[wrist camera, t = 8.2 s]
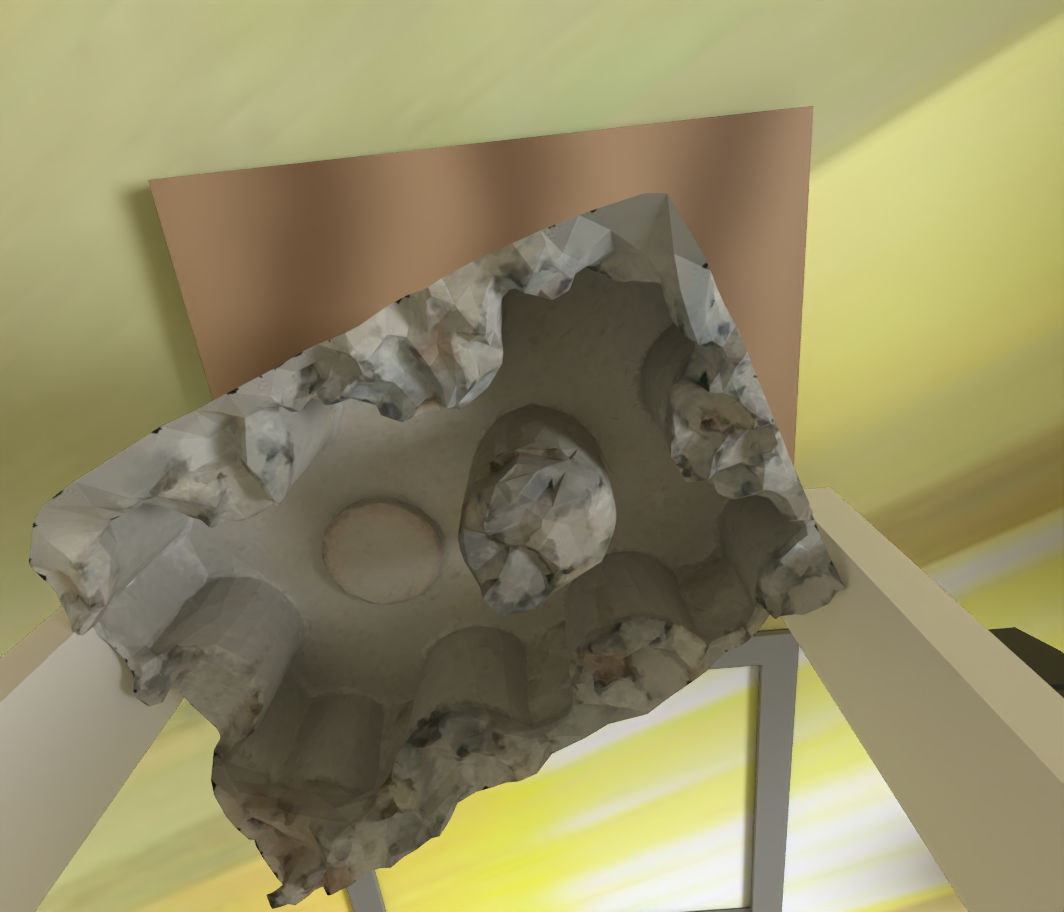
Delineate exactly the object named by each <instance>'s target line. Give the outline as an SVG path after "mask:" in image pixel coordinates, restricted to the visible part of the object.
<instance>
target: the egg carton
mask: <svg viewBox="0 0 1064 912" xmlns="http://www.w3.org/2000/svg"><path fill="white" fill-rule="evenodd" d="M812 514H813V511H812V508H811V506H810V503H809V501H808V499H807V497H806V494H805V492H804V490H803V488H802V485H801V483H800V481H799V478H798V476H797V474H796V471H795V469H794V466H793V464H792V462H791V459H790V457H789V454H788V452H787V449H786V446H785V444H784V441H783V439H782V436H781V434H780V431H779V429H778V426H777V424H776V421H775V419H774V416H773V414H772V411H771V409H770V407H769V405H768V402H767V400H766V398H765V396H764V393H763V391H762V388H761V385H760V383H759V380H758V378H757V375H756V373H755V370H754V368H753V365H752V363H751V360H750V357H749V354H748V351H747V349H746V347H745V346H744V344H743V342H742V340H741V338H740V333H739V330H738V328H737V326H736V324H735V322H734V320H733V318H732V317H731V315H730V313H729V312H728V310H727V308H726V306H725V304H724V302H723V300H722V298H721V295H720V293H719V291H718V289H717V286H716V283H715V281H714V278H713V276H712V273H711V271H710V268H709V266H708V264H707V262H706V260H705V257H704V255H703V253H702V251H701V248H700V247H699V245H698V243H697V242H696V240H695V238H694V237H693V235H692V233H691V232H690V230H689V229H688V227H687V225H686V224H685V222H684V220H683V219H682V217H681V215H680V214H679V212H678V210H677V209H676V207H675V205H674V204H673V202H672V200H671V199H670V197H669V195H668V194H667V193H643V194H640V195H637V196H634V197H631V198H628V199H625V200H622V201H619V202H616V203H613V204H610V205H607V206H604V207H601V208H598V209H595V210H592V211H589V212H586V213H583V214H580V215H577V216H575V217H572V218H570V219H567V220H565V221H562V222H560V223H558V224H555V225H553V226H550V227H548V228H545V229H543V230H541V231H538V232H536V233H534V234H532V235H529V236H527V237H525V238H523V239H521V240H518V241H516V242H514V243H512V244H509V245H507V246H505V247H503V248H500V249H498V250H496V251H493V252H491V253H489V254H487V255H485V256H483V257H481V258H479V259H477V260H475V261H473V262H471V263H469V264H467V265H465V266H463V267H461V268H459V269H457V270H456V271H454V272H452V273H450V274H448V275H446V276H444V277H443V278H441V279H439V280H438V281H436V282H435V283H433V284H432V285H430V286H428V287H426V288H424V289H422V290H420V291H418V292H415V293H412V294H409V295H407V296H405V297H403V298H401V299H399V300H398V301H396V302H394V303H392V304H390V305H388V306H386V307H385V308H383V309H382V310H381V311H379V312H378V313H376V314H375V315H374V316H372V317H371V318H370V319H368V320H367V321H365V322H364V323H363V324H361V325H359V326H357V327H356V328H354V329H352V330H350V331H348V332H346V333H344V334H342V335H339V336H337V337H334V338H332V339H329V340H327V341H324V342H322V343H319V344H317V345H315V346H313V347H311V348H309V349H307V350H305V351H302V352H301V353H299V354H297V355H296V356H294V357H292V358H291V359H289V360H288V361H286V362H284V363H283V364H281V365H279V366H278V367H276V368H274V369H272V370H270V371H268V372H267V373H265V374H263V375H261V376H259V377H257V378H255V379H253V380H251V381H249V382H247V383H246V384H244V385H242V386H240V387H238V388H236V389H234V390H232V391H230V392H228V393H226V394H225V395H223V396H221V397H219V398H217V399H215V400H213V401H211V402H210V403H208V404H206V405H204V406H202V407H200V408H198V409H196V410H195V411H192V412H190V413H188V414H186V415H184V416H182V417H180V418H178V419H176V420H173V421H171V422H169V423H167V424H165V425H163V426H161V427H159V428H158V429H156V430H154V431H153V432H151V433H150V434H148V435H147V436H145V437H143V438H142V439H140V440H139V441H137V442H135V443H134V444H132V445H131V446H129V447H127V448H126V449H124V450H123V451H121V452H120V453H118V454H116V455H115V456H113V457H112V458H110V459H108V460H107V461H105V462H104V463H102V464H101V465H99V466H97V467H96V468H94V469H93V470H91V471H89V472H88V473H86V474H85V475H83V476H82V477H80V478H78V479H77V480H75V481H74V482H72V483H71V484H70V485H69V486H67V487H66V488H65V489H63V490H62V491H61V492H60V493H58V494H57V495H56V496H54V497H53V498H52V499H51V500H49V501H48V502H47V503H45V504H44V505H43V506H42V508H41V510H40V512H39V514H38V516H37V518H36V520H35V522H34V524H33V530H32V539H31V548H30V557H29V564H30V566H31V568H32V569H33V570H34V571H35V572H36V573H38V574H39V575H40V576H41V577H42V578H43V579H44V580H45V581H46V582H47V583H48V584H49V585H50V586H51V587H52V588H53V589H54V590H55V591H56V593H57V595H58V597H59V600H60V602H61V604H62V606H63V608H64V610H65V612H66V614H67V616H68V618H69V621H70V625H71V628H72V632H75V633H76V634H77V635H84V634H85V633H86V632H88V631H89V630H90V629H91V628H93V627H94V629H95V632H96V634H97V635H99V636H100V637H101V638H103V639H104V640H106V641H107V642H108V643H109V644H110V645H111V646H112V647H113V648H114V649H115V650H116V651H117V652H118V653H119V654H120V655H121V656H122V657H123V658H124V659H125V661H126V663H127V665H128V667H129V668H130V670H131V672H132V674H133V678H134V687H133V692H134V694H135V696H136V698H137V699H138V700H140V701H141V702H143V703H144V704H146V705H147V706H149V707H150V706H153V705H156V704H159V703H162V702H163V701H164V699H165V698H166V696H167V694H168V692H169V690H170V688H174V689H176V690H178V691H179V692H180V693H181V694H182V695H183V696H184V697H185V698H186V699H187V700H188V702H189V703H190V704H191V705H192V706H193V707H194V708H195V709H197V710H198V711H199V712H200V713H201V714H202V715H203V716H204V717H205V718H206V719H207V720H208V721H210V722H211V723H212V724H213V725H214V726H215V727H216V728H217V729H218V731H219V733H220V736H221V738H220V740H219V742H218V744H217V746H216V748H215V749H214V756H213V767H212V778H211V781H212V786H213V791H214V795H215V797H216V799H217V801H218V803H219V805H220V806H221V808H222V810H223V812H224V814H225V815H226V817H227V818H228V819H229V820H230V821H231V823H232V824H233V825H234V826H235V827H236V828H237V829H238V830H239V831H240V832H241V833H242V834H243V835H245V836H246V837H247V838H248V839H252V840H255V843H256V846H257V848H258V850H259V851H260V853H261V855H262V857H263V859H264V860H265V861H266V863H267V864H268V866H269V867H270V868H271V870H272V871H273V873H274V874H275V875H276V877H277V878H278V879H279V880H280V882H281V883H282V884H283V885H282V886H281V887H280V888H278V889H277V890H276V891H274V892H273V893H270V894H267V898H268V900H269V903H270V906H271V908H272V909H273V908H277V907H281V906H284V905H286V904H291V905H296V904H297V903H299V902H300V901H302V900H303V899H305V898H306V897H307V896H309V895H310V894H311V893H312V892H313V891H314V890H315V889H318V888H320V887H324V889H325V891H326V893H327V895H332V894H334V893H335V892H337V891H339V890H341V889H343V888H346V887H348V886H351V885H352V884H353V883H354V882H355V881H356V880H357V879H358V878H359V877H361V876H362V875H364V874H365V873H367V872H368V871H370V870H373V869H378V868H391V867H392V866H393V865H394V864H396V863H397V862H398V861H399V860H400V859H401V858H403V857H404V856H406V855H407V854H409V853H411V852H413V851H414V850H416V849H417V848H419V847H420V846H421V845H423V844H424V843H425V842H427V841H428V840H429V839H431V838H434V837H437V836H440V834H441V833H442V831H443V830H444V828H445V827H446V825H447V823H448V822H449V820H450V818H451V816H452V814H453V812H454V809H455V807H456V805H457V803H458V802H460V801H461V800H463V799H465V798H466V797H468V796H470V795H471V794H473V793H475V792H477V791H480V790H484V789H488V788H491V787H494V786H497V785H500V784H503V783H505V782H516V781H520V780H523V779H525V778H527V777H530V776H532V775H534V774H536V773H537V772H538V771H539V770H540V768H541V767H542V766H543V764H544V763H545V762H546V760H547V759H548V758H549V757H550V755H551V754H552V753H554V752H556V751H558V750H561V749H563V748H565V747H567V746H569V745H571V744H573V743H575V742H577V741H579V740H581V739H583V738H585V737H587V736H589V735H591V734H592V733H594V732H596V731H597V730H599V729H601V728H602V727H604V726H606V725H607V724H610V723H614V722H617V721H621V720H625V719H629V718H633V717H637V716H641V715H645V714H648V713H649V712H650V711H652V710H653V709H654V708H656V707H657V706H658V705H660V704H661V703H662V702H663V701H665V700H666V699H667V698H669V697H670V696H672V695H673V694H675V693H676V692H678V691H679V690H681V689H682V688H683V687H685V686H686V685H688V684H689V683H691V682H692V681H693V680H695V679H696V678H698V677H699V676H700V675H702V674H703V673H704V672H706V671H707V670H708V669H709V668H710V667H711V666H712V665H713V664H714V663H715V662H716V661H717V660H718V659H719V658H720V657H721V656H722V655H723V654H724V653H725V652H727V651H729V650H731V649H734V648H736V647H739V646H741V645H744V644H745V643H746V642H747V641H748V640H749V639H750V638H752V637H753V636H754V635H755V634H756V633H757V631H758V630H759V628H760V627H761V626H762V624H763V623H764V622H765V620H766V619H767V617H768V616H769V615H771V616H773V617H774V618H775V619H776V618H778V617H779V616H786V615H795V614H797V615H805V614H807V613H809V612H812V611H814V610H817V609H819V608H821V607H823V606H825V605H827V604H829V603H830V601H831V600H832V598H833V597H834V595H835V594H836V593H837V592H838V591H841V590H845V588H844V586H843V584H842V582H841V579H840V577H839V574H838V571H837V569H836V567H835V566H834V564H833V562H832V560H831V558H830V556H829V554H828V552H827V549H826V547H825V544H824V542H823V540H822V537H821V535H820V533H819V530H818V528H817V525H816V523H815V520H814V518H813V515H812ZM134 579H135V580H134ZM132 580H134V581H133V583H132V584H131V585H130V586H128V587H127V585H128V584H129V583H130V582H131V581H132Z"/></svg>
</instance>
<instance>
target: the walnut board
mask: <svg viewBox="0 0 1064 912" xmlns="http://www.w3.org/2000/svg"><path fill="white" fill-rule="evenodd" d="M812 118H813V106H808V107H799V108H790V109H781V110H772V111H763V112H754V113H745V114H736V115H727V116H718V117H709V118H700V119H691V120H682V121H673V122H664V123H655V124H646V125H637V126H628V127H619V128H611V129H602V130H593V131H584V132H575V133H566V134H557V135H548V136H539V137H530V138H521V139H512V140H503V141H494V142H485V143H476V144H467V145H458V146H449V147H440V148H431V149H422V150H413V151H405V152H396V153H387V154H378V155H369V156H360V157H351V158H342V159H333V160H324V161H315V162H306V163H297V164H288V165H279V166H270V167H261V168H252V169H243V170H234V171H225V172H216V173H207V174H199V175H190V176H181V177H172V178H163V179H154V180H148V182H149V185H150V188H151V192H152V195H153V199H154V202H155V205H156V209H157V212H158V216H159V219H160V222H161V226H162V229H163V233H164V236H165V239H166V243H167V246H168V249H169V253H170V256H171V260H172V263H173V266H174V270H175V273H176V277H177V280H178V283H179V287H180V290H181V294H182V297H183V300H184V304H185V307H186V310H187V314H188V317H189V321H190V324H191V327H192V331H193V334H194V338H195V341H196V344H197V348H198V351H199V355H200V358H201V361H202V365H203V368H204V372H205V375H206V378H207V382H208V385H209V388H210V392H211V395H212V399H213V400H215V399H217V398H219V397H221V396H223V395H225V394H226V393H228V392H230V391H232V390H234V389H236V388H238V387H240V386H242V385H244V384H246V383H247V382H249V381H251V380H253V379H255V378H257V377H259V376H261V375H263V374H265V373H267V372H268V371H270V370H272V369H274V368H276V367H278V366H279V365H281V364H283V363H284V362H286V361H288V360H289V359H291V358H292V357H294V356H296V355H297V354H299V353H301V352H302V351H305V350H307V349H309V348H311V347H313V346H315V345H317V344H319V343H322V342H324V341H327V340H329V339H332V338H334V337H337V336H339V335H342V334H344V333H346V332H348V331H350V330H352V329H354V328H356V327H357V326H359V325H361V324H363V323H364V322H365V321H367V320H368V319H370V318H371V317H372V316H374V315H375V314H376V313H378V312H379V311H381V310H382V309H383V308H385V307H386V306H388V305H390V304H392V303H394V302H396V301H398V300H399V299H401V298H403V297H405V296H407V295H409V294H412V293H415V292H418V291H420V290H422V289H424V288H426V287H428V286H430V285H432V284H433V283H435V282H436V281H438V280H439V279H441V278H443V277H444V276H446V275H448V274H450V273H452V272H454V271H456V270H457V269H459V268H461V267H463V266H465V265H467V264H469V263H471V262H473V261H475V260H477V259H479V258H481V257H483V256H485V255H487V254H489V253H491V252H493V251H496V250H498V249H500V248H503V247H505V246H507V245H509V244H512V243H514V242H516V241H518V240H521V239H523V238H525V237H527V236H529V235H532V234H534V233H536V232H538V231H541V230H543V229H545V228H548V227H550V226H553V225H555V224H558V223H560V222H562V221H565V220H567V219H570V218H572V217H575V216H577V215H580V214H583V213H586V212H589V211H592V210H595V209H598V208H601V207H604V206H607V205H610V204H613V203H616V202H619V201H622V200H625V199H628V198H631V197H634V196H637V195H640V194H643V193H667V194H668V195H669V197H670V199H671V200H672V202H673V204H674V205H675V207H676V209H677V210H678V212H679V214H680V215H681V217H682V219H683V220H684V222H685V224H686V225H687V227H688V229H689V230H690V232H691V233H692V235H693V237H694V238H695V240H696V242H697V243H698V245H699V247H700V248H701V251H702V253H703V255H704V257H705V260H706V262H707V264H708V266H709V268H710V271H711V273H712V276H713V278H714V281H715V283H716V286H717V289H718V291H719V293H720V295H721V298H722V300H723V302H724V304H725V306H726V308H727V310H728V312H729V313H730V315H731V317H732V318H733V320H734V322H735V324H736V326H737V328H738V330H739V333H740V338H741V340H742V342H743V344H744V346H745V347H746V349H747V351H748V354H749V357H750V360H751V363H752V365H753V368H754V370H755V373H756V375H757V378H758V380H759V383H760V385H761V388H762V391H763V393H764V396H765V398H766V400H767V402H768V405H769V407H770V409H771V411H772V414H773V416H774V419H775V421H776V424H777V426H778V429H779V431H780V434H781V436H782V439H783V441H784V444H785V446H786V449H787V452H788V454H789V457H790V459H791V462H792V464H793V466H794V450H795V432H796V413H797V395H798V376H799V358H800V339H801V321H802V303H803V284H804V266H805V247H806V229H807V210H808V192H809V173H810V155H811V137H812Z"/></svg>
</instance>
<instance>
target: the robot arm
mask: <svg viewBox="0 0 1064 912" xmlns="http://www.w3.org/2000/svg"><path fill="white" fill-rule="evenodd" d="M803 490H804V492H805V494H806V497H807V499H808V501H809V503H810V506H811V508H812V511H813V514H812V515H813V518H814V520H815V523H816V525H817V528H818V530H819V533H820V535H821V537H822V540H823V542H824V544H825V547H826V549H827V552H828V554H829V556H830V558H831V560H832V562H833V564H834V566H835V567H836V569H837V571H838V574H839V577H840V579H841V582H842V584H843V586H844V588H845V590H841V591H838V592H837V593H836V594H835V595H834V597H833V598H832V600H831V601H830V603H829V604H827V605H825V606H823V607H821V608H819V609H817V610H814V611H812V612H809V613H807V614H805V615H797V614H795V615H786V616H781V617H782V619H783V621H784V622H785V624H786V625H787V627H788V628H789V630H790V632H791V633H792V635H793V636H794V638H795V640H796V641H797V643H798V644H799V646H800V647H801V649H802V651H803V652H804V654H805V655H806V657H807V658H808V660H809V662H810V663H811V665H812V666H813V668H814V670H815V671H816V673H817V674H818V676H819V677H820V679H821V681H822V682H823V684H824V685H825V687H826V688H827V690H828V692H829V693H830V695H831V696H832V698H833V700H834V701H835V703H836V704H837V706H838V707H839V709H840V711H841V712H842V714H843V715H844V717H845V718H846V720H847V722H848V723H849V725H850V726H851V728H852V730H853V731H854V733H855V734H856V736H857V737H858V739H859V741H860V742H861V744H862V745H863V747H864V748H865V750H866V752H867V753H868V755H869V756H870V758H871V759H872V761H873V763H874V764H875V766H876V767H877V769H878V771H879V772H880V774H881V775H882V777H883V778H884V780H885V782H886V783H887V785H888V786H889V788H890V789H891V791H892V793H893V794H894V796H895V797H896V799H897V801H898V802H899V804H900V805H901V807H902V808H903V810H904V812H905V813H906V815H907V816H908V818H909V819H910V821H911V823H912V824H913V826H914V827H915V829H916V831H917V832H918V834H919V835H920V837H921V838H922V840H923V842H924V843H925V845H926V846H927V848H928V849H929V851H930V853H931V854H932V856H933V857H934V859H935V861H936V862H937V864H938V865H939V867H940V868H941V870H942V872H943V873H944V875H945V876H946V878H947V879H948V881H949V883H950V884H951V886H952V887H953V889H954V891H955V892H956V894H957V895H958V897H959V898H960V900H961V902H962V903H963V905H964V906H965V908H966V909H967V911H968V912H1064V654H1063V653H1062V652H1061V651H1060V650H1058V649H1056V648H1054V647H1052V646H1050V645H1048V644H1046V643H1044V642H1042V641H1040V640H1038V639H1036V638H1034V637H1032V636H1030V635H1028V634H1026V633H1024V632H1022V631H1021V630H1019V629H1017V628H1015V627H1014V628H1002V629H991V630H988V629H986V628H985V627H984V626H983V625H982V624H981V623H980V622H979V621H978V620H977V619H975V618H974V617H973V616H972V615H971V614H970V613H969V612H968V611H967V610H965V609H964V608H963V607H962V606H961V605H960V604H959V603H958V602H957V601H955V600H954V599H953V598H952V597H951V596H950V595H949V594H948V593H947V592H945V591H944V590H943V589H942V588H941V587H940V586H939V585H938V584H937V583H936V582H934V581H933V580H932V579H931V578H930V577H929V576H928V575H927V574H926V573H924V572H923V571H922V570H921V569H920V568H919V567H918V566H917V565H916V564H914V563H913V562H912V561H911V560H910V559H909V558H908V557H907V556H906V555H904V554H903V553H902V552H901V551H900V550H899V549H898V548H897V547H896V546H895V545H893V544H892V543H891V542H890V541H889V540H888V539H887V538H886V537H885V536H883V535H882V534H881V533H880V532H879V531H878V530H877V529H876V528H875V527H873V526H872V525H871V524H870V523H869V522H868V521H867V520H866V519H865V518H864V517H862V516H861V515H860V514H859V513H858V512H857V511H856V510H855V509H854V508H852V507H851V506H850V505H849V504H848V503H847V502H846V501H845V500H844V499H842V498H841V497H840V496H839V495H838V494H837V493H836V492H835V491H834V490H832V489H831V488H830V487H824V488H813V489H803ZM134 580H135V579H134ZM134 580H132V581H131V582H130V583H129V584H128V585H127V587H128V586H130V585H131V584H132V583H133V581H134ZM133 687H134V678H133V674H132V672H131V670H130V668H129V667H128V665H127V663H126V661H125V659H124V658H123V657H122V656H121V655H120V654H119V653H118V652H117V651H116V650H115V649H114V648H113V647H112V646H111V645H110V644H109V643H108V642H107V641H106V640H104V639H103V638H101V637H100V636H99V635H97V634H96V632H95V629H94V627H93V628H91V629H90V630H89V631H88V632H86V633H85V634H84V635H77V634H76V633H75V632H72V628H71V625H70V621H69V618H68V616H67V614H66V612H65V610H64V608H63V606H61V607H60V608H59V609H58V610H56V611H55V612H54V613H53V614H52V615H51V616H49V617H48V618H47V619H46V620H45V621H44V622H42V623H41V624H40V625H39V626H38V627H37V628H35V629H34V630H33V631H32V632H31V633H30V634H28V635H27V636H26V637H25V638H24V639H23V640H21V641H20V642H19V643H18V644H17V645H16V646H14V647H13V648H12V649H11V650H10V651H9V652H7V653H6V654H5V655H4V656H3V657H1V658H0V912H35V911H36V909H37V908H38V906H39V905H40V904H41V902H42V901H43V899H44V898H45V896H46V895H47V893H48V892H49V891H50V889H51V888H52V886H53V885H54V883H55V882H56V881H57V879H58V878H59V876H60V875H61V873H62V872H63V871H64V869H65V868H66V866H67V865H68V863H69V862H70V860H71V859H72V858H73V856H74V855H75V853H76V852H77V850H78V849H79V848H80V846H81V845H82V843H83V842H84V840H85V839H86V838H87V836H88V835H89V833H90V832H91V830H92V829H93V828H94V826H95V825H96V823H97V822H98V820H99V819H100V817H101V816H102V815H103V813H104V812H105V810H106V809H107V807H108V806H109V805H110V803H111V802H112V800H113V799H114V797H115V796H116V795H117V793H118V792H119V790H120V789H121V787H122V786H123V785H124V783H125V782H126V780H127V779H128V777H129V776H130V774H131V773H132V772H133V770H134V769H135V767H136V766H137V764H138V763H139V762H140V760H141V759H142V757H143V756H144V754H145V753H146V752H147V750H148V749H149V747H150V746H151V744H152V743H153V741H154V740H155V739H156V737H157V736H158V734H159V733H160V731H161V730H162V729H163V727H164V726H165V724H166V723H167V721H168V720H169V719H170V717H171V716H172V714H173V713H174V711H175V710H176V709H177V707H178V706H179V704H180V703H181V701H182V700H183V698H184V696H183V695H182V694H181V693H180V692H179V691H178V690H176V689H174V688H170V690H169V692H168V694H167V696H166V698H165V699H164V701H163V702H162V703H159V704H156V705H153V706H150V707H149V706H147V705H146V704H144V703H143V702H141V701H140V700H138V699H137V698H136V696H135V694H134V692H133Z"/></svg>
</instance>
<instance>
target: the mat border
mask: <svg viewBox="0 0 1064 912" xmlns="http://www.w3.org/2000/svg"><path fill="white" fill-rule="evenodd" d="M798 652H799V644H798V643H797V641H796V640H795V638H794V636H793V635H792V633H791V632H790V630H789V629H785V630H773V631H761V632H757V633H756V634H755V635H754V636H753V637H752V638H750V639H749V640H748V641H747V642H746V643H745V644H744V645H741V646H739V647H736V648H734V649H731V650H729V651H727V652H725V653H724V654H723V655H722V656H721V657H720V658H719V659H718V660H717V661H716V662H715V663H714V664H713V665H712V666H711V667H710V668H709V669H719V668H731V667H743V666H755V665H760V674H759V700H758V727H757V753H756V780H755V806H754V832H753V859H752V885H751V908H742V909H728V910H714V911H700V912H782V899H783V883H784V868H785V852H786V837H787V822H788V806H789V791H790V775H791V760H792V744H793V729H794V714H795V698H796V683H797V667H798ZM347 891H348V894H349V897H350V901H351V904H352V907H353V910H354V912H386V910H385V906H384V902H383V899H382V895H381V892H380V888H379V884H378V881H377V877H376V873H375V870H374V869H373V870H370V871H368V872H367V873H365V874H364V875H362V876H361V877H359V878H358V879H357V880H356V881H355V882H354V883H353V884H352V885H351V886H348V887H347Z"/></svg>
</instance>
